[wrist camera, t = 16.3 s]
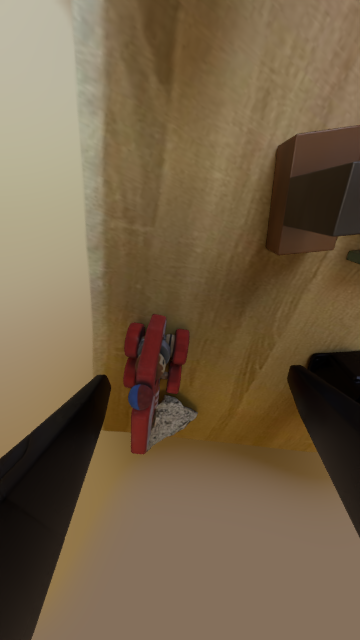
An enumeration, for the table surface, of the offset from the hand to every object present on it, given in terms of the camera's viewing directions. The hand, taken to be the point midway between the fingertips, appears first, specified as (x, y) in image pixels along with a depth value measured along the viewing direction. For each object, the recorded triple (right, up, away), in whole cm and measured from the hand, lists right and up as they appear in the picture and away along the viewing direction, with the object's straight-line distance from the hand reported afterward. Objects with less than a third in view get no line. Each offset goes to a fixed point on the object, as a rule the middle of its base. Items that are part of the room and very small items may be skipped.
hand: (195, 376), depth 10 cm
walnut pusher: (+8, +13, +7) cm, 17 cm away
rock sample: (-2, -11, +22) cm, 25 cm away
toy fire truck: (-4, -1, +16) cm, 16 cm away
